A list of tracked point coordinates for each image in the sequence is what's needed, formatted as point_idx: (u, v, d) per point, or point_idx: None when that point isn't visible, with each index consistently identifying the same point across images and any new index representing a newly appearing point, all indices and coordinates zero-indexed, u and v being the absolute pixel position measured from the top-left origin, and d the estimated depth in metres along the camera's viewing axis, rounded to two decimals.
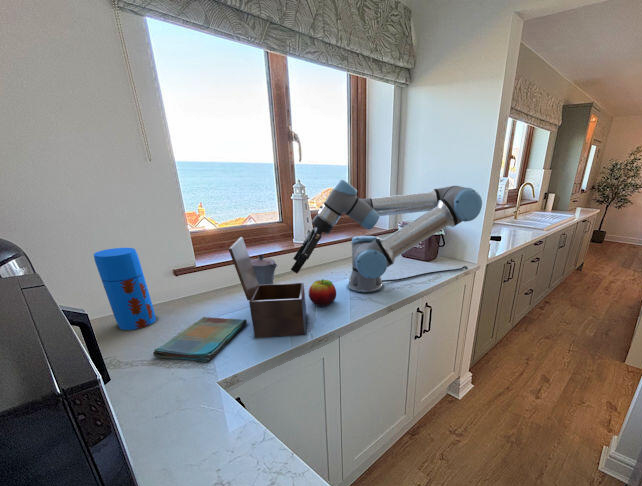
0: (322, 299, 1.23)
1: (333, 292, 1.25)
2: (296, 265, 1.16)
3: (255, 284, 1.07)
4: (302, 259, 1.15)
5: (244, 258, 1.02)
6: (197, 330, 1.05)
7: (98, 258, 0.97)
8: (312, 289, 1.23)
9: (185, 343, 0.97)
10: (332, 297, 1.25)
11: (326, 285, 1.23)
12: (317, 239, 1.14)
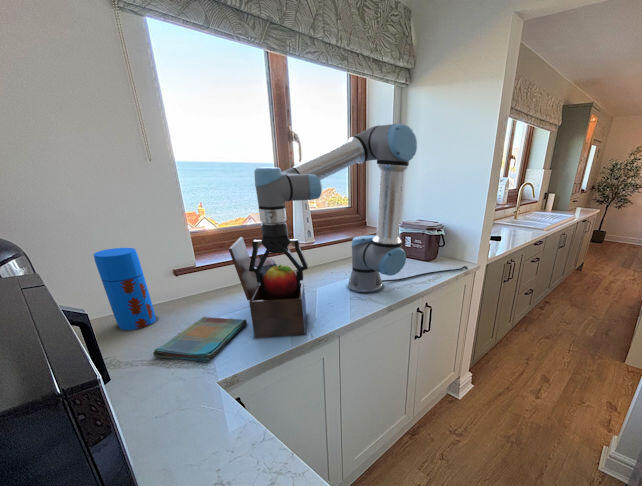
0: (278, 288, 1.01)
1: (293, 280, 1.03)
2: (299, 282, 1.06)
3: (255, 284, 1.07)
4: (302, 272, 1.05)
5: (244, 258, 1.02)
6: (197, 330, 1.05)
7: (98, 258, 0.97)
8: (266, 277, 1.01)
9: (185, 343, 0.97)
10: (291, 286, 1.03)
11: (283, 271, 1.01)
12: None
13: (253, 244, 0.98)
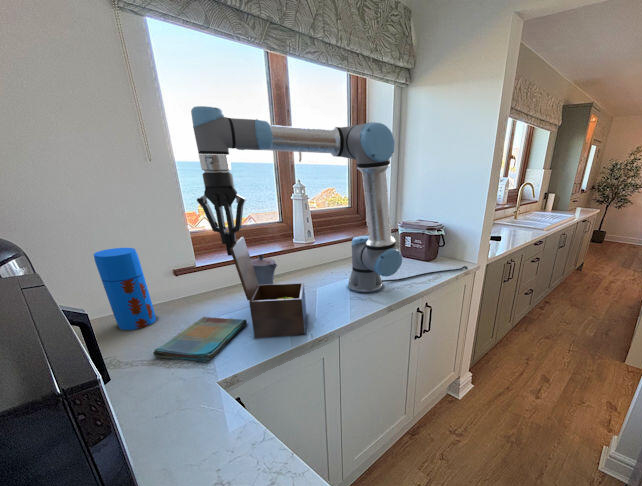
0: None
1: None
2: None
3: (255, 284, 1.07)
4: (234, 234, 0.97)
5: (245, 257, 1.02)
6: (197, 330, 1.05)
7: (98, 258, 0.97)
8: None
9: (185, 343, 0.97)
10: None
11: None
12: (243, 204, 0.94)
13: (199, 201, 0.91)
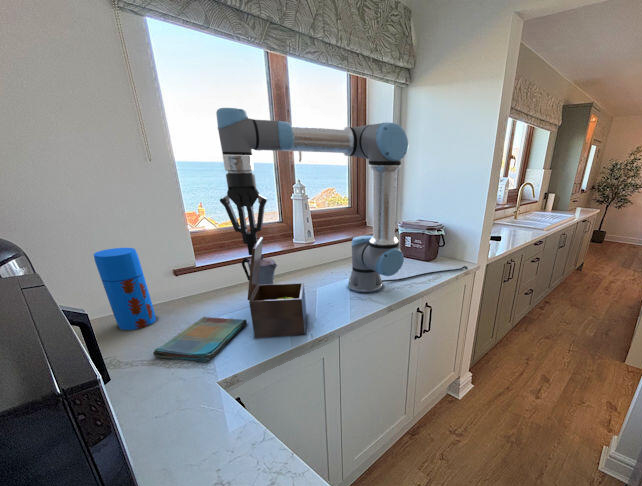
0: None
1: None
2: (253, 246, 0.99)
3: (256, 284, 1.08)
4: (256, 234, 0.98)
5: (258, 258, 1.02)
6: (197, 330, 1.05)
7: (98, 258, 0.97)
8: None
9: (185, 343, 0.97)
10: None
11: None
12: None
13: (222, 202, 0.92)
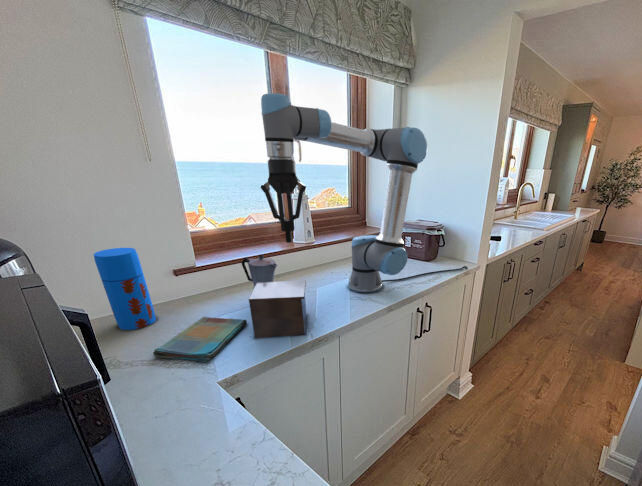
0: None
1: None
2: (290, 233, 0.99)
3: None
4: (293, 222, 0.98)
5: None
6: (197, 330, 1.05)
7: (98, 258, 0.97)
8: None
9: (185, 343, 0.97)
10: None
11: None
12: None
13: (262, 188, 0.92)
